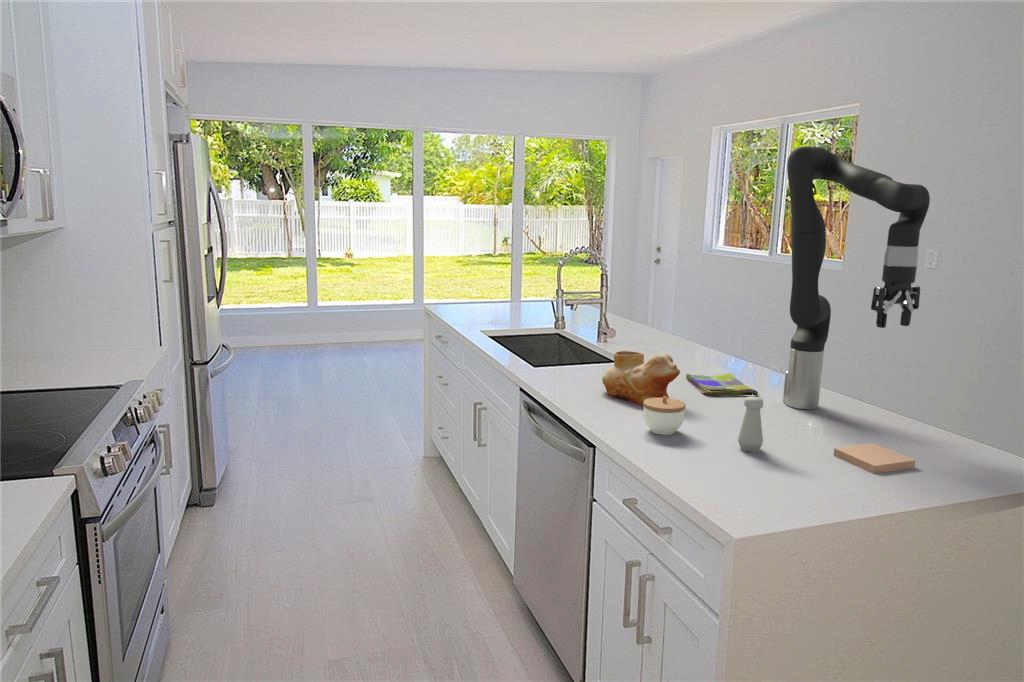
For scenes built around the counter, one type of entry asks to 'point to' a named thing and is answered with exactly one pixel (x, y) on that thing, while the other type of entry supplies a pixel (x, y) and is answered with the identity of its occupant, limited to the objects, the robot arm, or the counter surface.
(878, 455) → the tile
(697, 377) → the dish towel
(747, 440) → the salt shaker
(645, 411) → the lidded jar
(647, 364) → the ceramic vessel
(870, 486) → the counter surface
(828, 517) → the counter surface
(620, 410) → the counter surface
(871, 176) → the robot arm
